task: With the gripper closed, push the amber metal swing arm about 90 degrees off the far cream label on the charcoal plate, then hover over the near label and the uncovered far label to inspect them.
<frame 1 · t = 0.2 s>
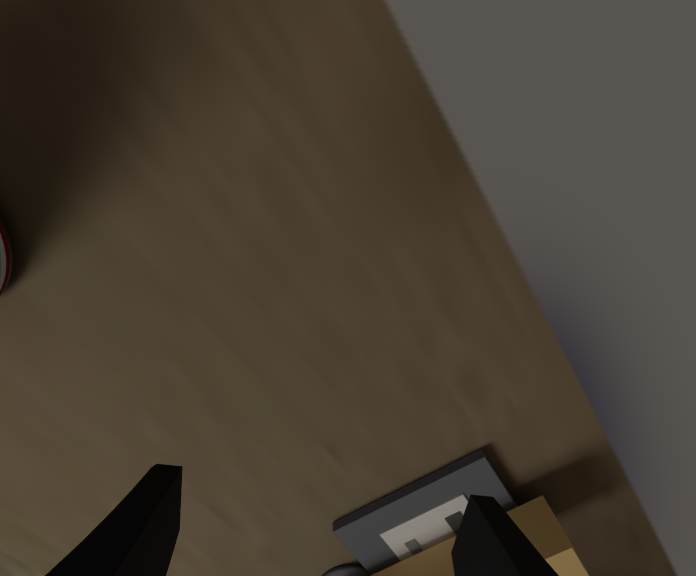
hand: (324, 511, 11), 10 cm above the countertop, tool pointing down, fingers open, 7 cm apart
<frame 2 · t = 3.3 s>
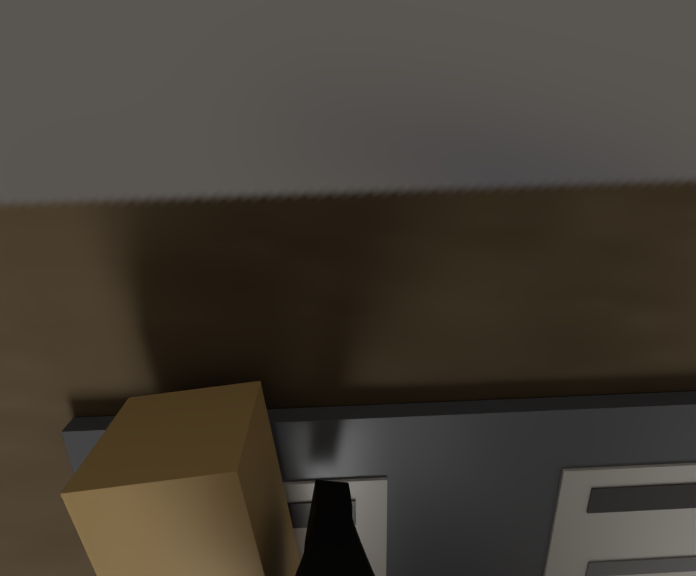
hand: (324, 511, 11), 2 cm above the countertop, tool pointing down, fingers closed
label plate: (461, 545, 15), on the countertop
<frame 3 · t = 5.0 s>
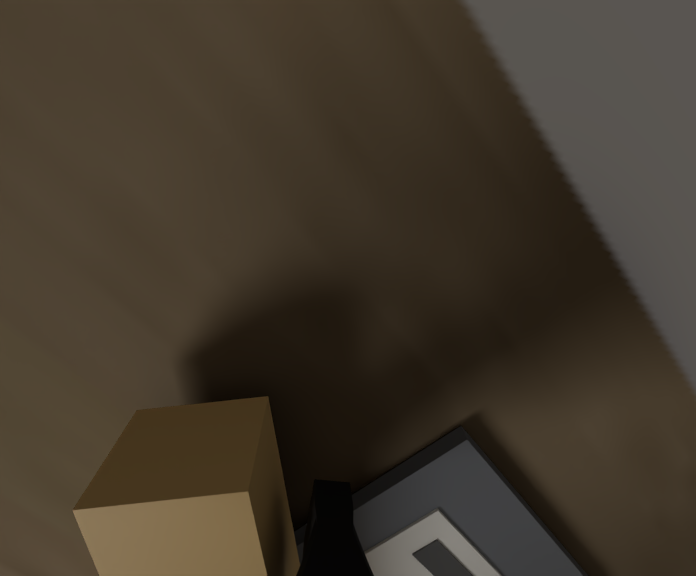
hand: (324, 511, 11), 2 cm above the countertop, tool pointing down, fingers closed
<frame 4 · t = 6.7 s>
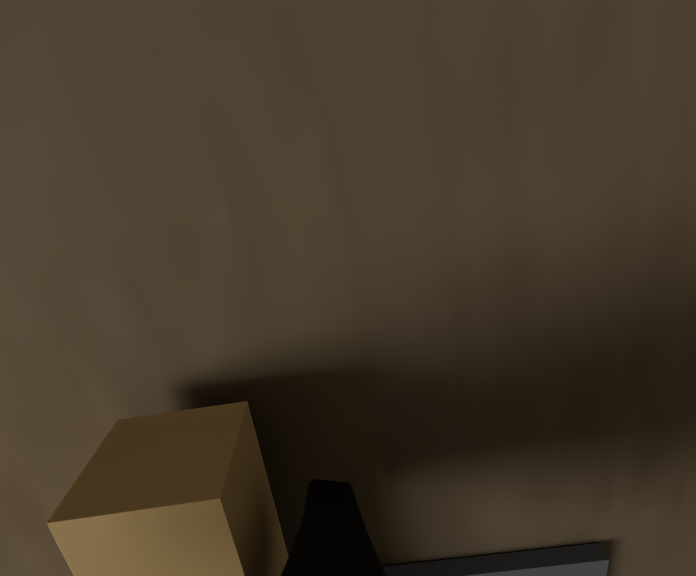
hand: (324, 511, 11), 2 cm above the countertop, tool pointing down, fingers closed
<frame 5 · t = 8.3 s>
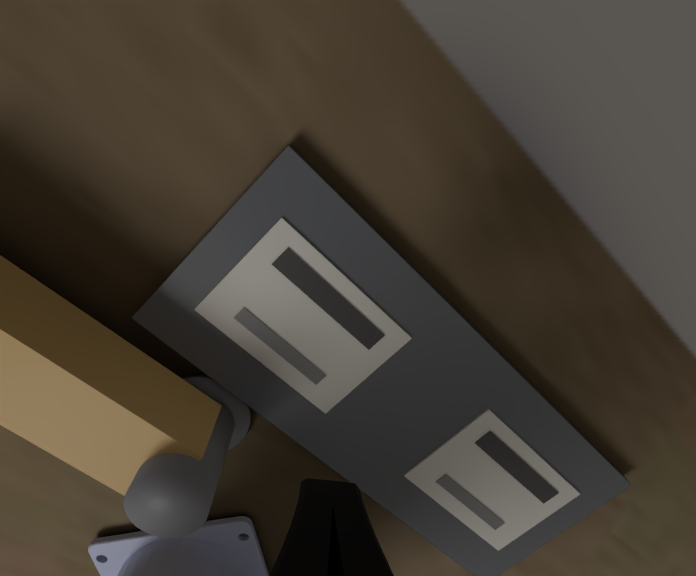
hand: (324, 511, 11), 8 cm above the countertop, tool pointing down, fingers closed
label plate: (388, 415, 20), on the countertop
swing arm: (53, 377, 16), point 3 cm above the countertop, hinge at 92.4°
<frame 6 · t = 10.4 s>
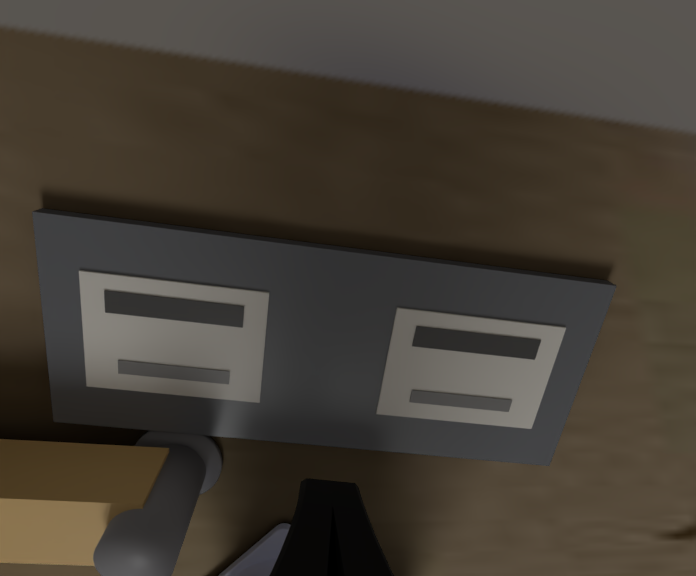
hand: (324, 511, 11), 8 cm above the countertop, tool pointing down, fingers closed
label plate: (323, 369, 20), on the countertop
swing arm: (11, 503, 18), point 3 cm above the countertop, hinge at 92.4°
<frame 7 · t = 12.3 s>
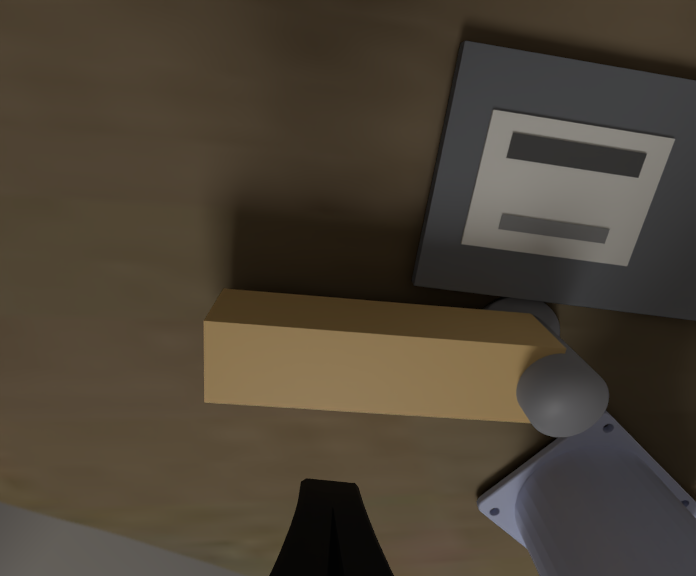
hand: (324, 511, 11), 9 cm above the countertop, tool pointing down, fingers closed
label plate: (685, 234, 19), on the countertop
swing arm: (398, 359, 17), point 3 cm above the countertop, hinge at 92.4°
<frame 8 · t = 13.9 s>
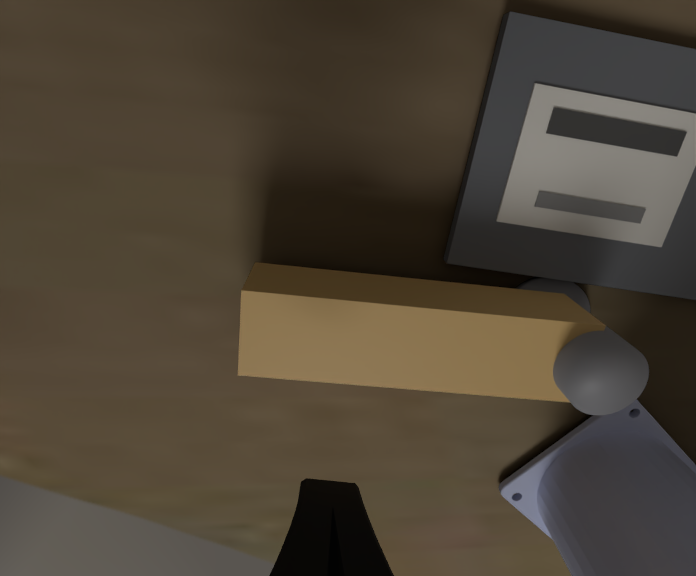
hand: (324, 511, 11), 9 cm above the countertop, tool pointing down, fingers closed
swing arm: (433, 335, 17), point 3 cm above the countertop, hinge at 92.4°
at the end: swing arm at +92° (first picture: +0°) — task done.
